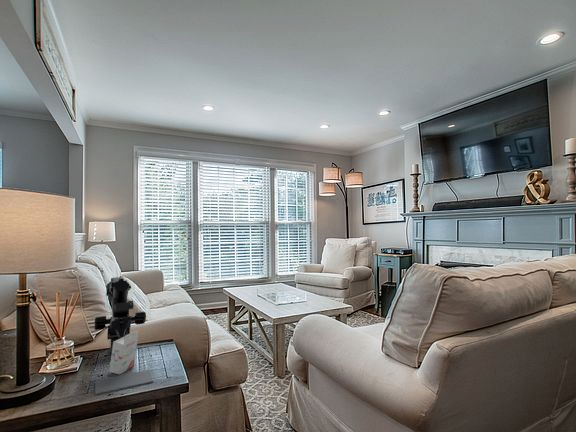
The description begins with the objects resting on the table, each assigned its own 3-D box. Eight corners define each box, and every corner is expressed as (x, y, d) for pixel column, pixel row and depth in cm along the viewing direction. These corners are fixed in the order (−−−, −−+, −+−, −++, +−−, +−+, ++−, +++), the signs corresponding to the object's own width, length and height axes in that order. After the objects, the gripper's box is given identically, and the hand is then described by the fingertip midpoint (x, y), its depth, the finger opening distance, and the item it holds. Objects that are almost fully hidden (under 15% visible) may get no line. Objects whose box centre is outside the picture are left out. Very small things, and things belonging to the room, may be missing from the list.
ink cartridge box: (123, 362, 134) (129, 326, 134) (134, 365, 133) (139, 329, 133) (108, 371, 126) (113, 333, 126) (119, 375, 125) (125, 336, 125)
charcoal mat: (95, 381, 119) (95, 380, 119) (148, 370, 128) (148, 369, 128) (95, 395, 110) (95, 393, 110) (153, 382, 119) (153, 380, 119)
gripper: (95, 296, 132) (94, 332, 122) (145, 292, 141) (149, 324, 131) (94, 312, 138) (94, 347, 128) (143, 307, 148) (146, 339, 138)
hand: (121, 339), depth 131 cm, fingers closed
